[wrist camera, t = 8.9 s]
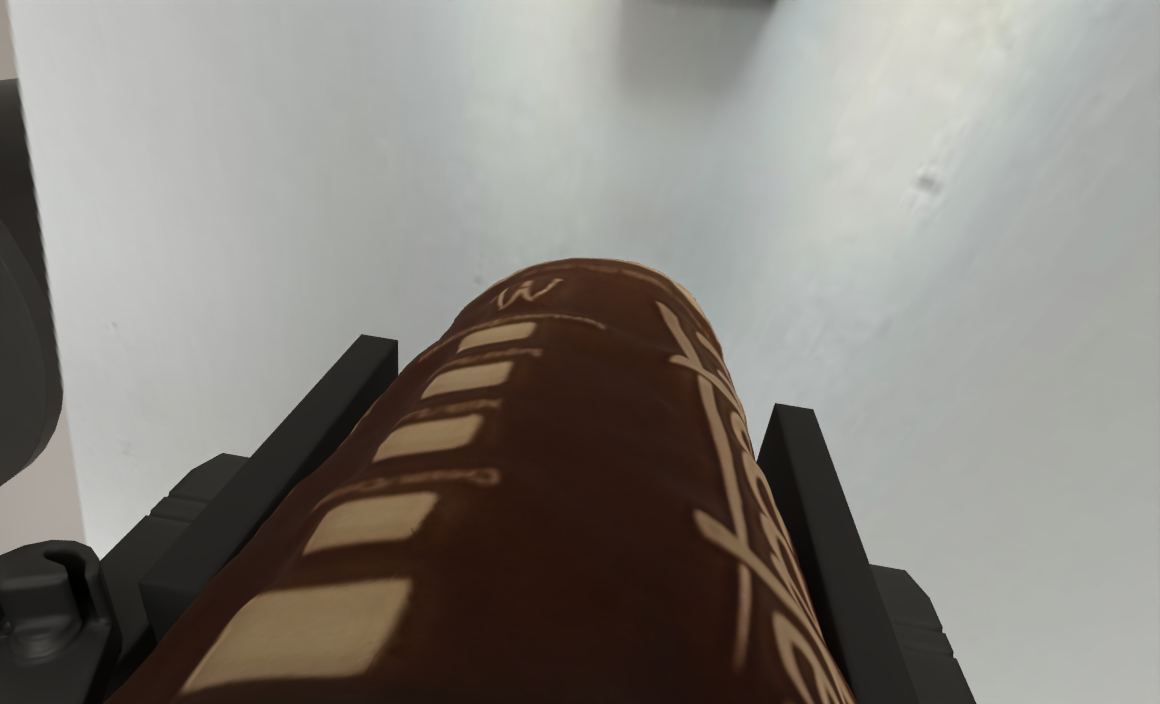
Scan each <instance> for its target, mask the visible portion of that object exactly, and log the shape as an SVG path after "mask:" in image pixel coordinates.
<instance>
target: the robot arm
mask: <svg viewBox="0 0 1160 704" xmlns="http://www.w3.org/2000/svg"><path fill="white" fill-rule="evenodd" d="M397 376H398V340H393V339H387V338H381V337H375V336H369V335H363V334H361V336H360V337H359V338H358V339H357V340H356V341H355V342H354V343H353V344H352V345H351V347H350V348H349V349H348V350H347V351H346V352H345V353H344V354H343V355H342V357H341V358H340V359H339V360H338V361H337V362H336V363H335V364H334V365H333V367H332V368H331V369H330V370H329V371H328V372H327V373H326V374H325V375H324V376H323V378H322V379H321V380H320V381H319V382H318V383H317V384H316V385H315V386H314V388H313V389H312V390H311V391H310V392H309V393H308V394H307V395H306V396H305V398H304V399H303V400H302V401H301V402H300V403H299V404H298V405H297V406H296V407H295V409H294V410H293V411H292V412H291V413H290V414H289V415H288V416H287V417H286V419H285V420H284V421H283V422H282V423H281V424H280V425H279V426H278V427H277V429H276V430H275V431H274V432H273V433H272V434H271V435H270V436H269V437H268V438H267V440H266V441H265V442H264V443H263V444H262V445H261V446H260V447H259V448H258V450H257V451H256V452H255V453H254V454H253V455H252V456H251V457H250V458H248V457H243V456H237V455H231V454H225V453H222V454H220V455H218V456H216V457H214V458H213V459H211V460H209V461H207V462H205V463H203V464H202V465H200V466H198V467H196V468H194V469H192V470H191V471H190V472H189V473H188V474H187V475H186V476H185V477H184V478H183V479H182V480H181V481H180V482H179V483H178V484H177V485H176V486H175V487H174V488H173V489H172V490H171V491H170V492H169V496H168V497H164V498H163V499H162V500H161V501H160V502H159V503H158V504H157V505H156V506H155V507H154V508H153V509H152V510H151V513H150V515H149V516H145V517H144V518H143V519H142V520H141V521H140V522H139V523H138V524H137V525H136V526H135V527H134V528H133V529H132V530H131V531H130V532H129V533H128V534H127V535H126V536H125V537H124V538H123V539H122V540H121V541H120V542H119V543H118V544H117V545H116V546H115V547H114V548H113V549H112V550H111V551H110V552H109V553H108V554H107V555H106V556H105V557H104V558H103V559H102V560H101V561H100V560H99V558H98V557H97V555H96V554H95V552H94V551H93V549H92V548H91V547H89V546H86V545H84V544H81V543H79V542H76V541H66V540H65V541H63V540H49V541H44V542H40V543H35V544H29V545H25V546H22V547H20V548H17V549H15V550H12V551H10V552H7V553H5V554H2V555H0V704H103V703H104V702H105V701H106V700H107V699H108V698H109V697H111V696H112V695H113V694H114V693H115V692H116V691H117V690H118V689H119V688H120V687H121V686H122V685H123V684H124V683H125V682H126V681H127V679H128V678H129V677H130V676H131V675H132V674H133V673H134V672H135V671H136V670H137V668H138V667H139V666H140V665H141V664H142V663H143V662H144V661H145V660H146V659H147V657H148V656H149V655H150V654H151V653H152V652H153V650H154V649H155V648H156V646H157V645H158V644H159V642H160V641H161V640H162V638H163V637H164V636H165V634H166V633H167V632H168V630H169V629H170V628H171V627H172V625H173V624H174V623H175V622H176V621H177V620H178V619H179V618H180V616H181V615H182V614H183V613H184V612H185V611H186V610H187V608H188V607H189V606H190V605H191V604H192V602H193V601H194V600H195V599H196V597H197V596H198V595H199V594H200V593H201V591H202V590H203V588H204V587H205V585H206V584H207V582H208V581H209V580H210V579H212V578H213V577H214V576H215V575H216V574H217V573H218V572H219V571H220V570H221V569H222V568H223V567H224V566H225V565H226V564H227V563H228V562H229V561H231V560H232V559H233V558H234V557H236V556H237V555H238V554H239V553H240V551H241V550H242V549H243V548H244V546H245V545H246V544H247V543H248V542H249V541H250V540H251V539H252V538H253V537H254V536H255V534H256V533H257V531H258V530H259V528H260V527H261V525H262V524H263V523H264V522H265V521H266V520H267V519H268V518H269V517H270V516H271V515H272V514H273V513H274V512H275V510H276V509H277V508H278V507H279V505H280V504H281V503H282V501H283V500H284V499H285V498H286V497H287V495H288V494H289V493H290V492H291V491H292V489H293V488H294V487H295V486H296V485H297V484H298V483H299V482H301V481H302V480H303V479H305V478H306V477H307V476H309V475H310V474H311V473H313V472H314V471H315V470H316V469H317V468H319V467H320V466H321V465H322V464H323V463H324V462H325V461H326V460H327V459H328V458H329V457H330V456H331V455H332V454H333V453H334V452H335V451H336V450H337V449H338V447H339V446H340V445H341V444H342V443H343V442H344V441H345V440H346V438H347V437H348V436H349V435H350V434H351V432H352V430H353V429H354V427H355V426H356V424H357V423H358V421H359V420H360V419H361V418H362V416H363V415H364V414H365V413H366V411H367V410H368V409H369V408H370V407H371V405H372V404H373V403H374V402H375V401H376V400H377V399H378V398H379V397H380V396H381V395H382V394H383V393H385V391H386V390H387V389H388V387H389V386H390V385H391V384H392V382H393V381H394V380H395V379H396V378H397ZM756 463H757V465H758V466H759V468H760V469H761V471H762V472H763V474H764V475H765V477H766V480H767V482H768V485H769V487H770V489H771V493H772V496H773V498H774V501H775V503H776V506H777V508H778V510H779V513H780V515H781V517H782V519H783V522H784V524H785V526H786V528H787V530H788V532H789V534H790V537H791V540H792V543H793V546H794V548H795V550H796V553H797V557H798V560H799V565H800V568H801V571H802V573H803V575H804V577H805V580H806V584H807V587H808V590H809V594H810V597H811V600H812V604H813V607H814V610H815V613H816V616H817V619H818V622H819V625H820V628H821V632H822V635H823V638H824V641H825V643H826V646H827V648H828V650H829V652H830V653H831V655H832V657H833V659H834V660H835V662H836V664H837V666H838V668H839V669H840V671H841V673H842V675H843V677H844V678H845V680H846V682H847V684H848V686H849V687H850V689H851V691H852V693H853V695H854V697H855V699H856V701H857V703H858V704H976V702H975V700H974V697H973V695H972V693H971V691H970V688H969V686H968V684H967V681H966V679H965V677H964V675H963V672H962V670H961V668H960V666H959V663H958V661H957V659H955V658H953V653H954V652H953V650H952V648H951V645H950V643H949V641H948V639H947V636H946V634H945V633H942V628H943V627H942V625H941V623H940V621H939V618H938V616H937V614H936V611H935V609H934V607H933V605H932V602H931V600H930V598H929V597H928V596H927V595H926V593H925V592H924V591H923V590H922V589H921V588H920V587H919V585H918V584H917V583H916V582H915V581H914V580H913V579H912V577H911V576H910V575H909V574H908V573H907V572H906V571H905V570H900V569H894V568H889V567H883V566H877V565H871V564H869V562H868V559H867V556H866V553H865V551H864V548H863V545H862V542H861V540H860V537H859V534H858V531H857V529H856V526H855V523H854V520H853V518H852V515H851V512H850V509H849V507H848V504H847V501H846V498H845V496H844V493H843V490H842V487H841V485H840V482H839V479H838V476H837V474H836V471H835V468H834V465H833V462H832V460H831V457H830V454H829V451H828V449H827V446H826V443H825V440H824V438H823V435H822V432H821V429H820V427H819V424H818V421H817V418H816V416H815V413H814V410H813V409H807V408H801V407H795V406H789V405H783V404H777V403H775V405H774V408H773V411H772V415H771V418H770V421H769V424H768V427H767V430H766V433H765V437H764V440H763V443H762V446H761V449H760V452H759V455H758V459H757V462H756Z"/></svg>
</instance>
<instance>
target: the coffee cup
mask: <svg viewBox="0 0 1160 704" xmlns="http://www.w3.org/2000/svg"><path fill="white" fill-rule="evenodd" d="M103 704H858V703H857V701H856V699H855V697H854V695H853V693H852V691H851V689H850V687H849V686H848V684H847V682H846V680H845V678H844V677H843V675H842V673H841V671H840V669H839V668H838V666H837V664H836V662H835V660H834V659H833V657H832V655H831V653H830V652H829V650H828V648H827V646H826V643H825V641H824V638H823V635H822V632H821V628H820V625H819V622H818V619H817V616H816V613H815V610H814V607H813V604H812V600H811V597H810V594H809V590H808V587H807V584H806V580H805V577H804V575H803V573H802V571H801V568H800V565H799V560H798V557H797V553H796V550H795V548H794V546H793V543H792V540H791V537H790V534H789V532H788V530H787V528H786V526H785V524H784V522H783V519H782V517H781V515H780V513H779V510H778V508H777V506H776V503H775V501H774V498H773V496H772V493H771V489H770V487H769V485H768V482H767V480H766V477H765V475H764V474H763V472H762V471H761V469H760V468H759V466H758V465H757V463H756V461H755V456H754V452H753V448H752V444H751V440H750V437H749V434H748V429H747V422H746V415H745V412H744V409H743V406H742V404H741V402H740V400H739V398H738V396H737V394H736V392H735V389H734V386H733V383H732V380H731V377H730V374H729V372H728V370H727V367H726V365H725V363H724V360H723V353H722V347H721V345H720V343H719V341H718V339H717V336H716V334H715V332H714V330H713V328H712V326H711V324H710V322H709V321H708V319H707V318H706V316H705V315H704V313H703V312H702V310H701V308H700V306H699V305H698V304H697V302H696V299H695V298H694V297H693V296H692V295H691V294H690V292H689V291H687V290H686V289H685V288H684V287H683V286H682V285H681V284H678V283H676V282H674V281H672V280H671V279H670V278H669V277H668V276H666V275H665V274H663V273H661V272H659V271H656V270H654V269H652V268H650V267H647V266H645V265H642V264H639V263H635V262H631V261H624V260H617V259H601V258H569V259H563V260H556V261H548V262H544V263H540V264H536V265H533V266H530V267H527V268H524V269H521V270H518V271H517V272H515V273H513V274H512V275H510V276H508V277H506V278H504V279H502V280H500V281H498V282H497V283H495V284H494V285H492V286H491V287H490V288H488V289H487V290H486V291H485V292H483V293H482V294H481V295H479V296H478V297H477V298H476V299H474V300H473V301H472V302H470V303H469V304H468V305H467V306H466V307H465V308H464V309H463V310H462V311H461V312H460V314H459V315H458V316H457V317H456V318H455V320H454V323H453V324H452V325H451V327H450V328H449V330H448V331H447V332H446V333H444V335H443V336H442V337H441V338H440V340H439V341H437V342H435V343H434V344H433V345H431V346H430V347H428V348H427V349H426V350H424V351H423V352H422V353H420V354H419V355H418V356H417V357H416V358H415V359H413V360H412V361H411V362H410V363H409V364H408V365H407V366H406V367H405V368H404V369H403V371H402V372H401V373H400V374H399V375H398V376H397V378H396V379H395V380H394V381H393V382H392V384H391V385H390V386H389V387H388V389H387V390H386V391H385V393H383V394H382V395H381V396H380V397H379V398H378V399H377V400H376V401H375V402H374V403H373V404H372V405H371V407H370V408H369V409H368V410H367V411H366V413H365V414H364V415H363V416H362V418H361V419H360V420H359V421H358V423H357V424H356V426H355V427H354V429H353V430H352V432H351V434H350V435H349V436H348V437H347V438H346V440H345V441H344V442H343V443H342V444H341V445H340V446H339V447H338V449H337V450H336V451H335V452H334V453H333V454H332V455H331V456H330V457H329V458H328V459H327V460H326V461H325V462H324V463H323V464H322V465H321V466H320V467H319V468H317V469H316V470H315V471H314V472H313V473H311V474H310V475H309V476H307V477H306V478H305V479H303V480H302V481H301V482H299V483H298V484H297V485H296V486H295V487H294V488H293V489H292V491H291V492H290V493H289V494H288V495H287V497H286V498H285V499H284V500H283V501H282V503H281V504H280V505H279V507H278V508H277V509H276V510H275V512H274V513H273V514H272V515H271V516H270V517H269V518H268V519H267V520H266V521H265V522H264V523H263V524H262V525H261V527H260V528H259V530H258V531H257V533H256V534H255V536H254V537H253V538H252V539H251V540H250V541H249V542H248V543H247V544H246V545H245V546H244V548H243V549H242V550H241V551H240V553H239V554H238V555H237V556H236V557H234V558H233V559H232V560H231V561H229V562H228V563H227V564H226V565H225V566H224V567H223V568H222V569H221V570H220V571H219V572H218V573H217V574H216V575H215V576H214V577H213V578H212V579H210V580H209V581H208V582H207V584H206V585H205V587H204V588H203V590H202V591H201V593H200V594H199V595H198V596H197V597H196V599H195V600H194V601H193V602H192V604H191V605H190V606H189V607H188V608H187V610H186V611H185V612H184V613H183V614H182V615H181V616H180V618H179V619H178V620H177V621H176V622H175V623H174V624H173V625H172V627H171V628H170V629H169V630H168V632H167V633H166V634H165V636H164V637H163V638H162V640H161V641H160V642H159V644H158V645H157V646H156V648H155V649H154V650H153V652H152V653H151V654H150V655H149V656H148V657H147V659H146V660H145V661H144V662H143V663H142V664H141V665H140V666H139V667H138V668H137V670H136V671H135V672H134V673H133V674H132V675H131V676H130V677H129V678H128V679H127V681H126V682H125V683H124V684H123V685H122V686H121V687H120V688H119V689H118V690H117V691H116V692H115V693H114V694H113V695H112V696H111V697H109V698H108V699H107V700H106V701H105V702H104V703H103Z"/></svg>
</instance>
